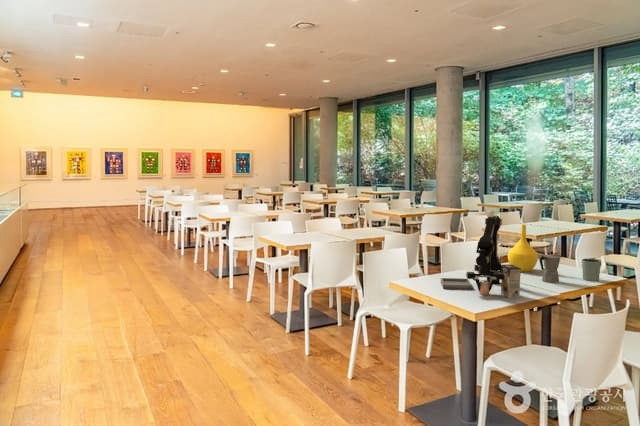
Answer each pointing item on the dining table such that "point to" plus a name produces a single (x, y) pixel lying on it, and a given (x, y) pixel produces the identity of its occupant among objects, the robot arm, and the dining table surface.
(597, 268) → the grey plant pot
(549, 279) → the coffeepot
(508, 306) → the dining table surface
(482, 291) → the shaker
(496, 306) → the dining table surface
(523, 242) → the vase
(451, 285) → the tray
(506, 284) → the coffee box
